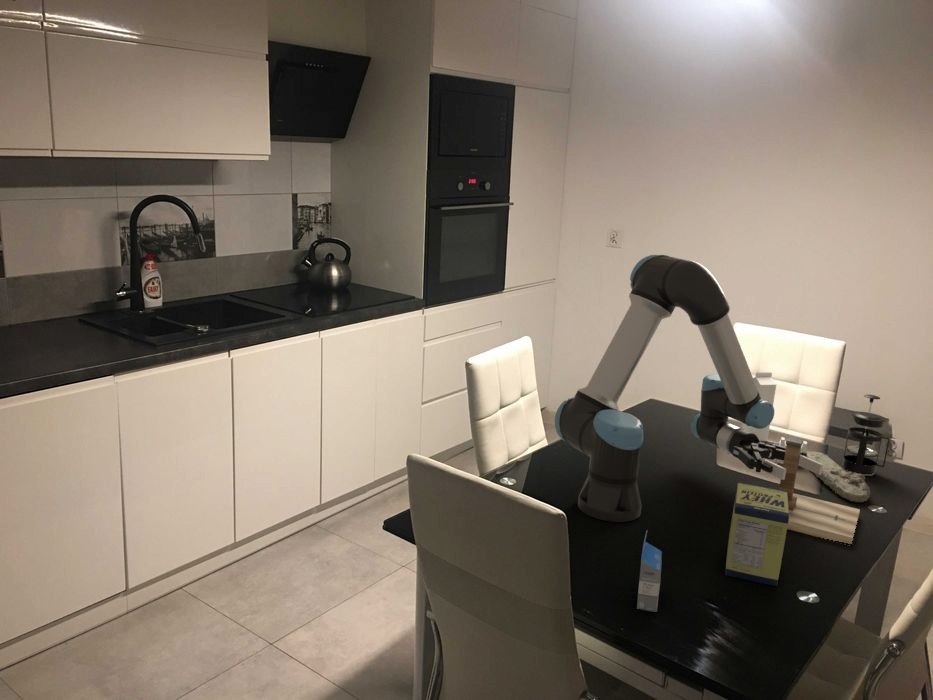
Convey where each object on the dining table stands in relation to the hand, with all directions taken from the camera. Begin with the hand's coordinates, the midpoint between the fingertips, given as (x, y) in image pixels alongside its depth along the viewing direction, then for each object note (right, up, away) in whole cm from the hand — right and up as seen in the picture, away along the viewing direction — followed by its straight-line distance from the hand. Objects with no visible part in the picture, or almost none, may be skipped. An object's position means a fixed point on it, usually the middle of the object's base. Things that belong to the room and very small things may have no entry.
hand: (803, 472), depth 194 cm
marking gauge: (-2, -9, +5) cm, 11 cm away
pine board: (+3, -12, +3) cm, 13 cm away
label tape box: (-47, -18, -40) cm, 65 cm away
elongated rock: (+22, -8, +32) cm, 39 cm away
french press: (+34, -6, +40) cm, 53 cm away
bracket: (+16, -4, +47) cm, 50 cm away
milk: (+11, +1, +64) cm, 65 cm away
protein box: (-21, -17, -23) cm, 35 cm away
